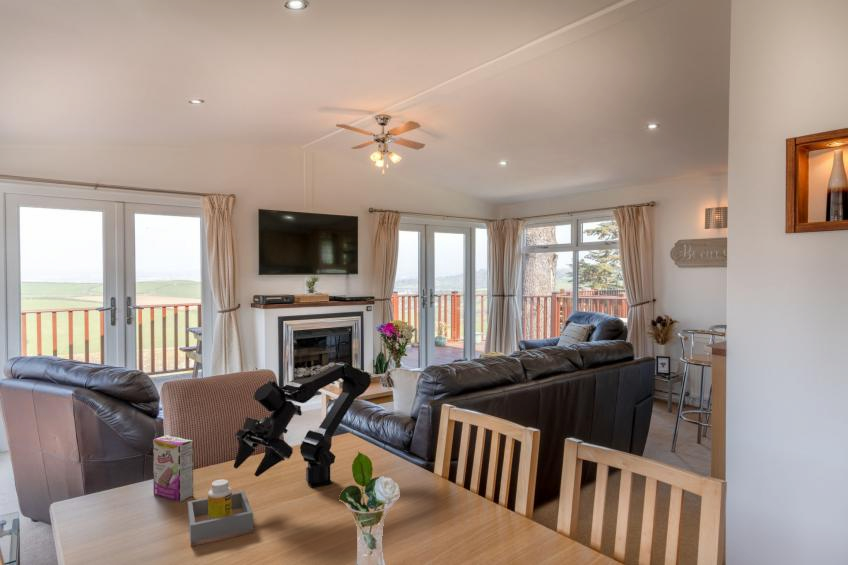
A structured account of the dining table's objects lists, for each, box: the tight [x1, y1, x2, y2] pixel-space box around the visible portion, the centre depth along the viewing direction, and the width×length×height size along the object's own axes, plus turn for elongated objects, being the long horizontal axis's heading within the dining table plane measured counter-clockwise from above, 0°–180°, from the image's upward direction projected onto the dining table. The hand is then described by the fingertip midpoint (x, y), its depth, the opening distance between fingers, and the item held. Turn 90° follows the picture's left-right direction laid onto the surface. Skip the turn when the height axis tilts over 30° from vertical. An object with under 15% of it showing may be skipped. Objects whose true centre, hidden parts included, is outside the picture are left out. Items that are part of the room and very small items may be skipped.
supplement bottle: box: [207, 479, 233, 520], centre depth 129 cm, size 6×6×10 cm
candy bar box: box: [152, 434, 194, 503], centre depth 146 cm, size 11×5×16 cm, turn 65°
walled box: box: [187, 490, 254, 547], centre depth 129 cm, size 14×14×5 cm
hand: (245, 471), depth 135 cm, fingers open, 9 cm apart
